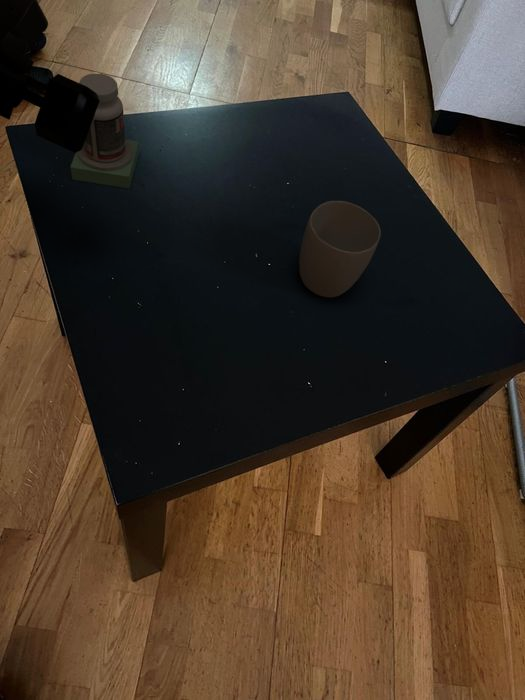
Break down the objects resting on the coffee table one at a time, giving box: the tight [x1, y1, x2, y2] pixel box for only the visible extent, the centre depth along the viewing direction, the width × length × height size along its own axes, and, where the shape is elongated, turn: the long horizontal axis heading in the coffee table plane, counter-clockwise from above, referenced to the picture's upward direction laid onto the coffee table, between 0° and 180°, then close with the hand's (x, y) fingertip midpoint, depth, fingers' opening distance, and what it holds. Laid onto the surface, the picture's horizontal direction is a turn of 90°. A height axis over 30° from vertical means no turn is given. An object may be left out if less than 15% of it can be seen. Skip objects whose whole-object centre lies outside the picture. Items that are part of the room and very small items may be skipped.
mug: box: [298, 200, 381, 299], centre depth 70 cm, size 13×9×10 cm
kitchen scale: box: [69, 138, 140, 190], centre depth 77 cm, size 8×8×3 cm
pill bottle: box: [78, 73, 126, 162], centre depth 72 cm, size 6×6×10 cm
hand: (52, 112), depth 62 cm, fingers open, 9 cm apart
